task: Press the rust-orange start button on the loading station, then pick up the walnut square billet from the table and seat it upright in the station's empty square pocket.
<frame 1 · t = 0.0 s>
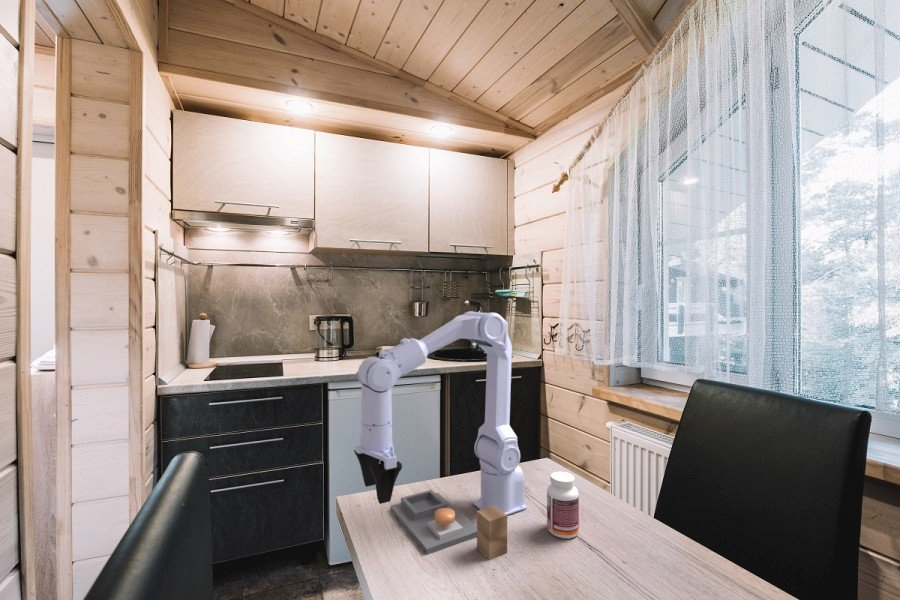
hand: (377, 493, 78), 10 cm above the table, fingers open, 7 cm apart
loading station: (433, 522, 86), on the table
start button: (444, 515, 82), point 4 cm above the table, slide at 0.0 cm
pill bottle: (562, 531, 83), on the table
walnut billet: (492, 550, 77), on the table
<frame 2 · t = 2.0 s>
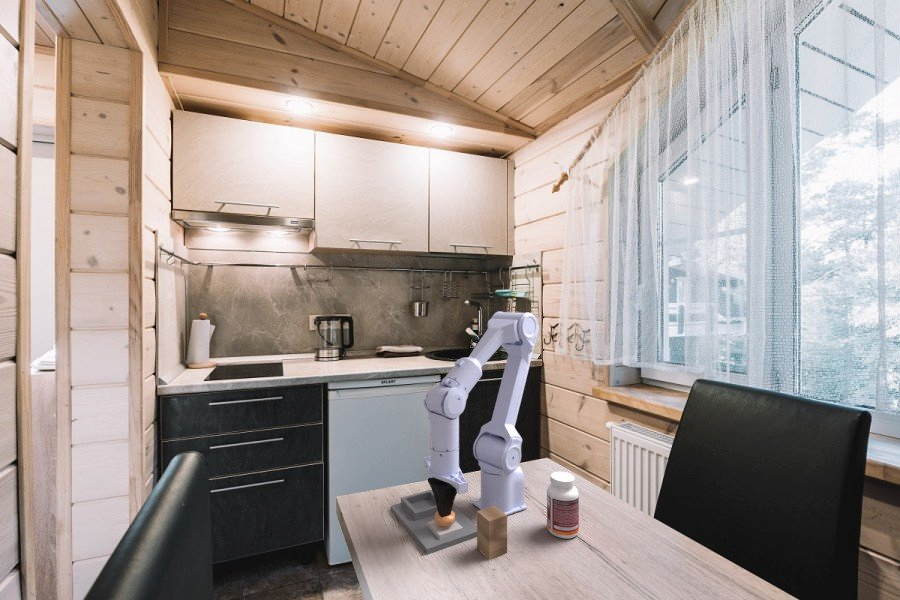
hand: (444, 514, 82), 4 cm above the table, fingers closed, pressing on start button
start button: (444, 517, 82), point 3 cm above the table, slide at 0.3 cm, touching gripper
everything else where it was.
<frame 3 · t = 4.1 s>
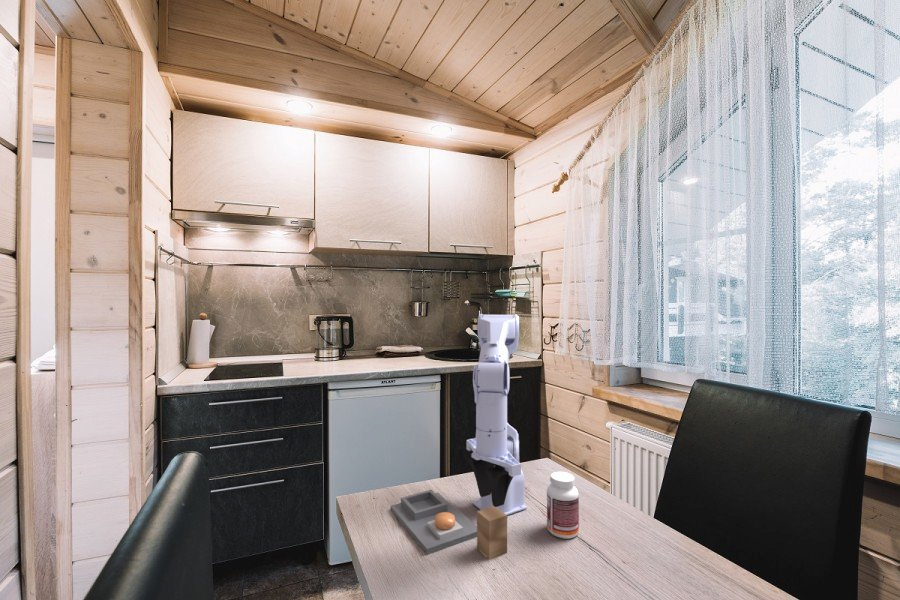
hand: (491, 500, 76), 9 cm above the table, fingers open, 4 cm apart
start button: (444, 520, 82), point 3 cm above the table, slide at 0.9 cm
everything else where it was.
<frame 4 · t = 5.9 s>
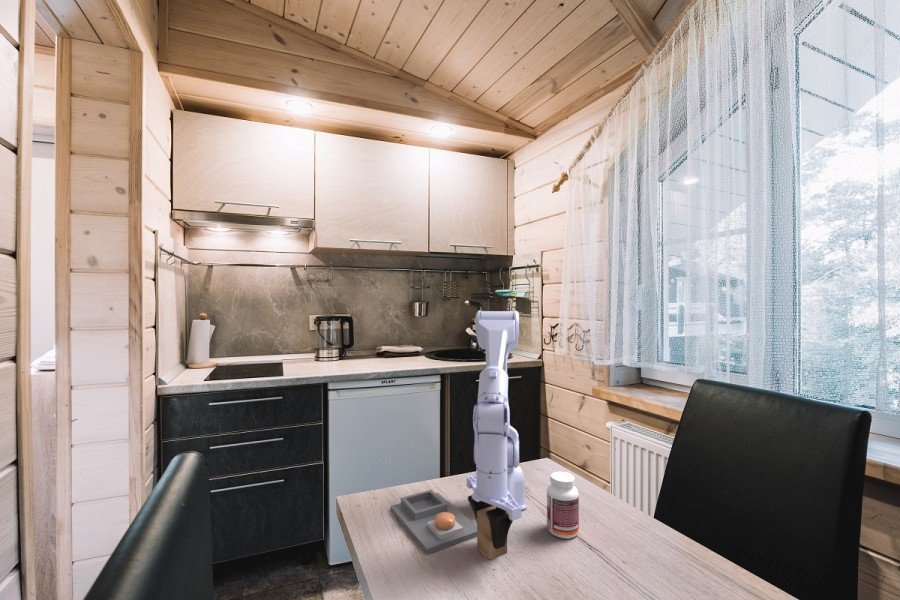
hand: (492, 540, 76), 2 cm above the table, fingers closed on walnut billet, 4 cm apart
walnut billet: (492, 550, 77), on the table, touching gripper
everything else where it was.
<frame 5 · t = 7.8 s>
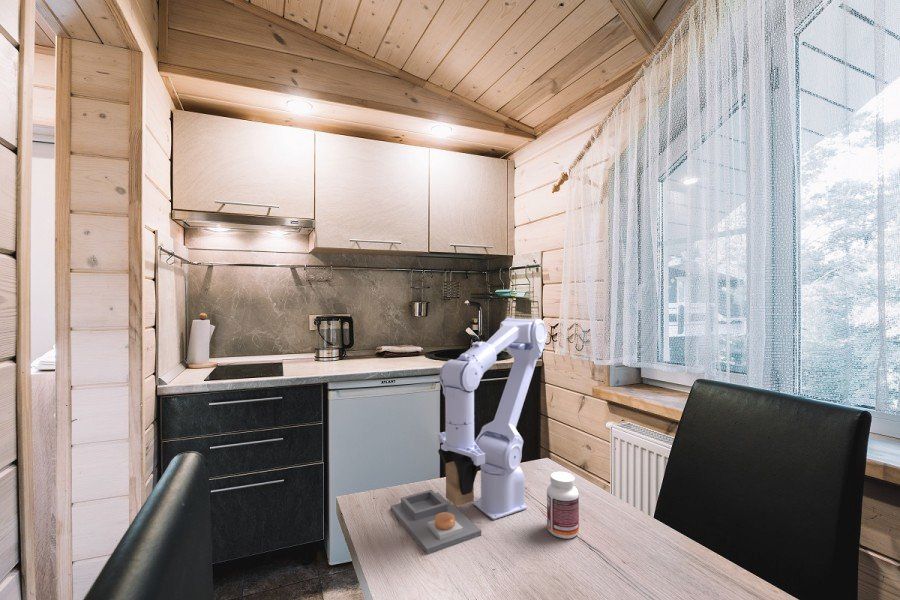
hand: (460, 488, 82), 9 cm above the table, fingers closed on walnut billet, 4 cm apart
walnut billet: (459, 499, 82), point 7 cm above the table, touching gripper
everything else where it was.
when the fingers open (4 cm above the table, at t = 10.0 s): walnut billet stays where it is, resting on loading station.
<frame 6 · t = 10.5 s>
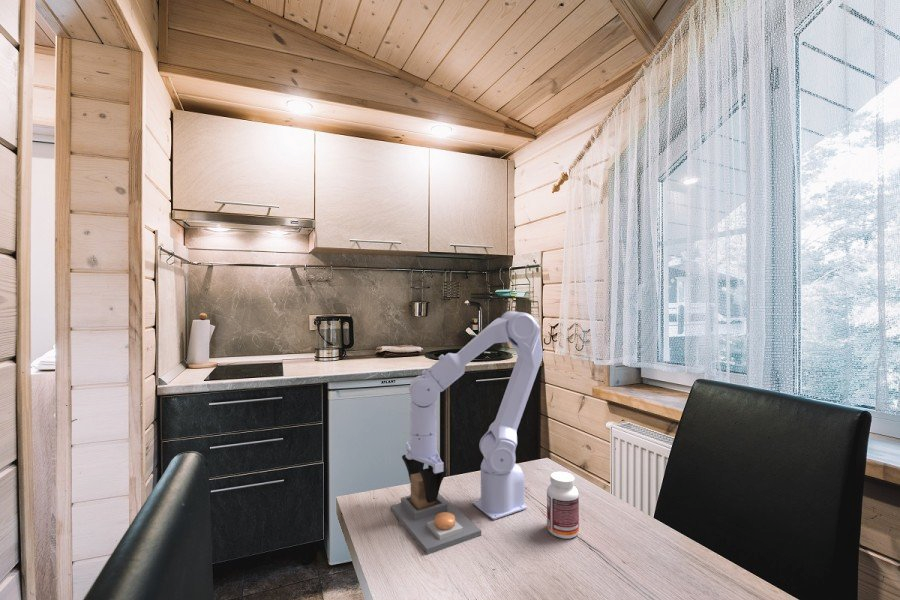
hand: (423, 493, 90), 4 cm above the table, fingers open, 7 cm apart
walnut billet: (422, 507, 90), point 1 cm above the table, touching loading station
everything else where it was.
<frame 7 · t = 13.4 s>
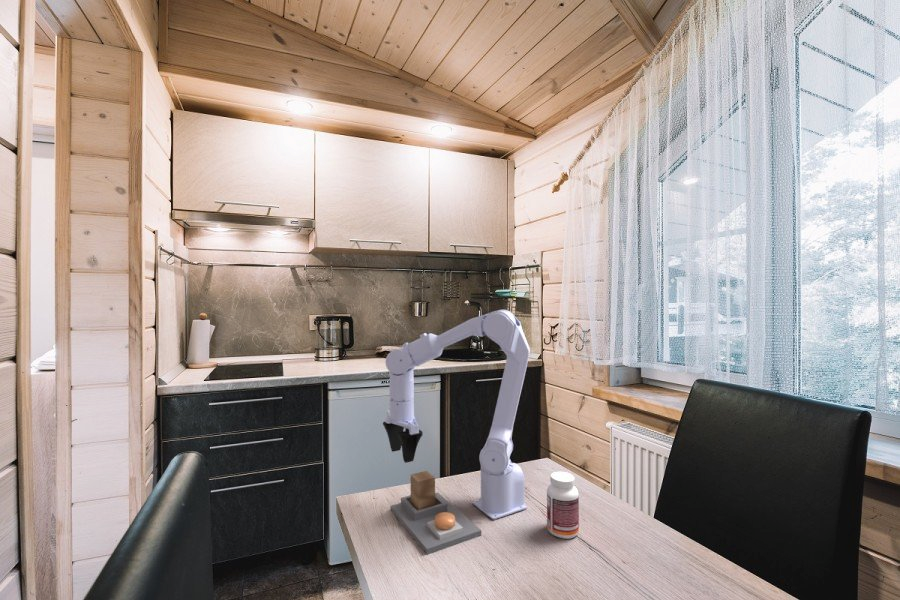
hand: (402, 455, 98), 9 cm above the table, fingers open, 7 cm apart
nothing on the table moved.
at the end: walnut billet 0.2 cm from the target spot on the loading station, point 1.0 cm above the loading station's base; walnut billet tilted 0°; start button slide at 0.9 cm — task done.
